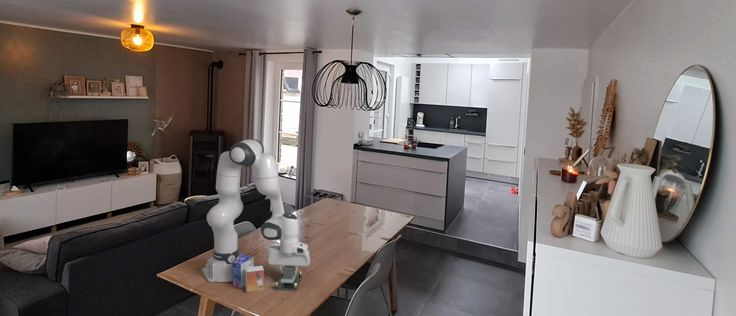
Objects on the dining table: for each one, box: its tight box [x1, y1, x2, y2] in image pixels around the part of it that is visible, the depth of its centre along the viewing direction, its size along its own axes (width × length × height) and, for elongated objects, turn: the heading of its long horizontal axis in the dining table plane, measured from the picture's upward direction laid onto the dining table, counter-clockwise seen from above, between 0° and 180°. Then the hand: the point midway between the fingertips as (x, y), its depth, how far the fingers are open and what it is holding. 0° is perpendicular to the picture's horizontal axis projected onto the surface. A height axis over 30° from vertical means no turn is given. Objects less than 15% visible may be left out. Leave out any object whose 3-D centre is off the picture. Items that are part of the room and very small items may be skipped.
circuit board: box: [281, 265, 298, 283], centre depth 204 cm, size 6×10×6 cm, turn 179°
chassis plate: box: [273, 270, 303, 292], centre depth 205 cm, size 11×15×4 cm
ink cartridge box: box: [232, 253, 255, 289], centre depth 202 cm, size 10×6×14 cm, turn 158°
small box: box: [244, 265, 265, 294], centre depth 197 cm, size 8×6×10 cm
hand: (289, 273), depth 204 cm, fingers closed on circuit board, 4 cm apart
